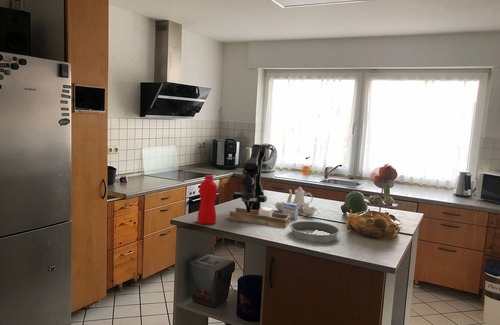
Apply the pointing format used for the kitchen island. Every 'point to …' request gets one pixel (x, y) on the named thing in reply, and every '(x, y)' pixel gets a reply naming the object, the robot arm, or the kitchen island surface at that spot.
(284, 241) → the kitchen island surface
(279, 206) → the chinaware
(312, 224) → the cake pan
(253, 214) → the light wood shallow tray
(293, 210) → the medicine box
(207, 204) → the water bottle
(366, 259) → the kitchen island surface
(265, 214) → the cream block
